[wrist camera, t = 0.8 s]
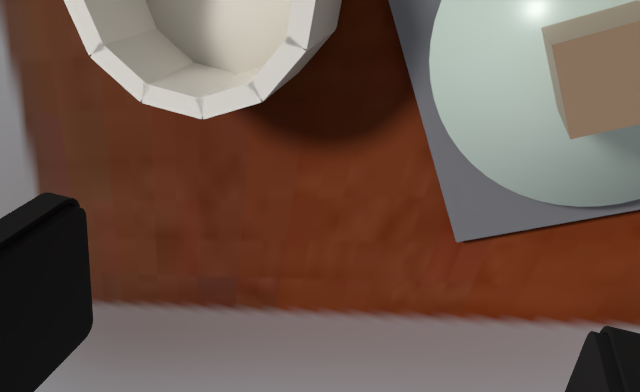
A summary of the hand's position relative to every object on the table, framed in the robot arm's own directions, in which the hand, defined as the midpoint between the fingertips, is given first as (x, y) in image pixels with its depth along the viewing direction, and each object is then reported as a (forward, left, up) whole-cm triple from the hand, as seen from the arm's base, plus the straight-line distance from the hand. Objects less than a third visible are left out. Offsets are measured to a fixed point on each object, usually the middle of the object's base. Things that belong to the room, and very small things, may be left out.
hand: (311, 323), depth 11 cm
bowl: (+8, -7, -23) cm, 25 cm away
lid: (-8, +2, -22) cm, 23 cm away
